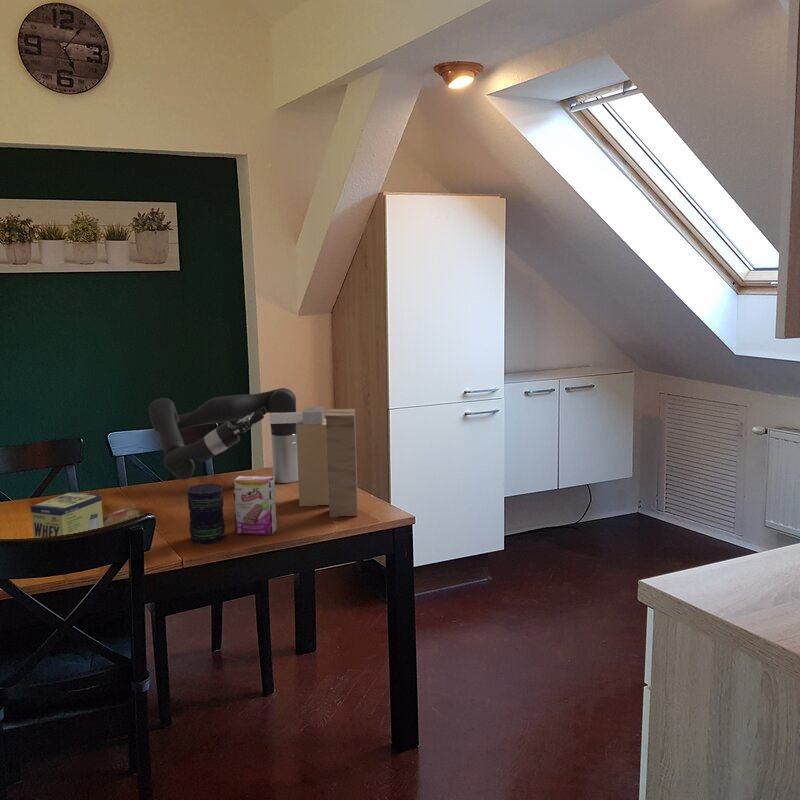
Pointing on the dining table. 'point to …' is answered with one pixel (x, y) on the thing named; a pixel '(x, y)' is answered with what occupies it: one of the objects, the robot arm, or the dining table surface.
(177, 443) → the robot arm
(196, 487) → the storage jar
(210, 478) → the dining table surface
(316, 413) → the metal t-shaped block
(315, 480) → the cardboard box
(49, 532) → the protein box
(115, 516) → the tin
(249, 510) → the candy bar box
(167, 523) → the dining table surface
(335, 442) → the tall wooden plank
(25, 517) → the dining table surface
